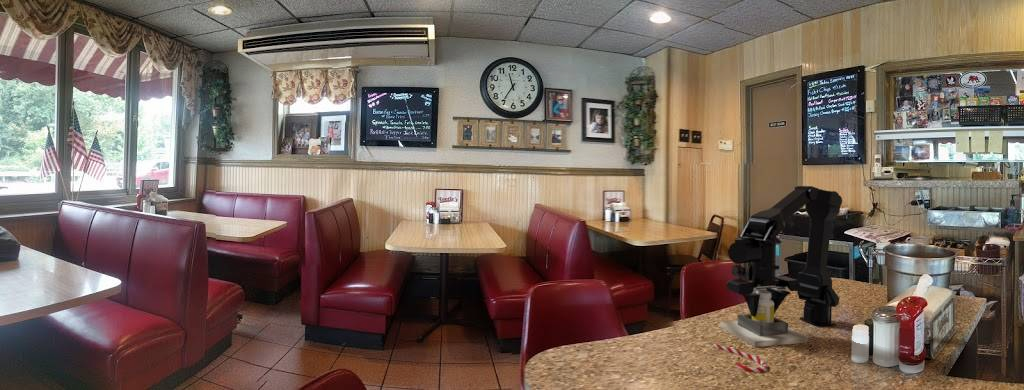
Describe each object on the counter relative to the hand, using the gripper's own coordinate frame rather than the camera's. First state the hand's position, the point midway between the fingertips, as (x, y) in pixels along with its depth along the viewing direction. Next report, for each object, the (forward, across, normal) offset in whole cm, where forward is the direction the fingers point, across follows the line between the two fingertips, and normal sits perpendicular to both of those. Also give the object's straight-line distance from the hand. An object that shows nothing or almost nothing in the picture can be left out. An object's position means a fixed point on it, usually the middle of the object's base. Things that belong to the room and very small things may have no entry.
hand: (762, 315), depth 117 cm
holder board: (+5, 0, 0) cm, 5 cm away
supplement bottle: (+3, 0, 0) cm, 3 cm away
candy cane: (+6, +17, +12) cm, 22 cm away
